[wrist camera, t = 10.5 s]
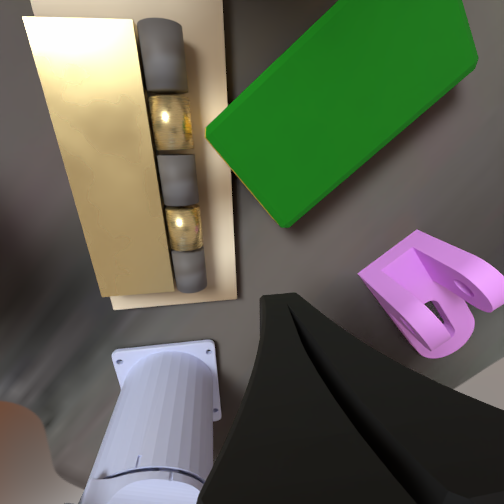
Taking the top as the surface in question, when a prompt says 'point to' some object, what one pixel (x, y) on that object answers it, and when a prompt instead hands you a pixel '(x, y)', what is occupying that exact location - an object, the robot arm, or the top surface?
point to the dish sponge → (340, 98)
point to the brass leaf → (115, 149)
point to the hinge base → (202, 114)
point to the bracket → (433, 291)
